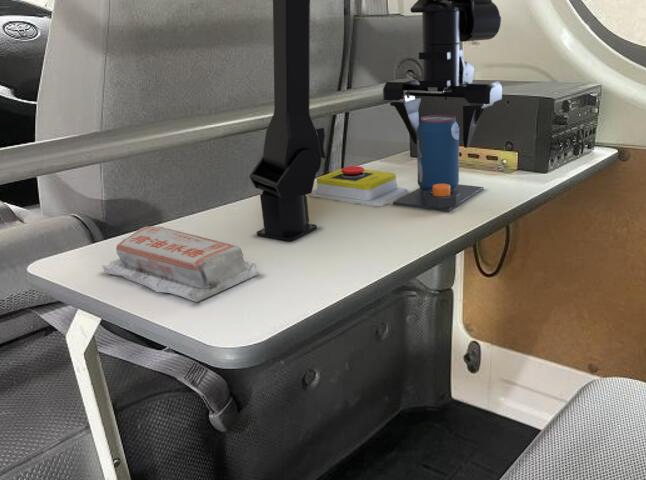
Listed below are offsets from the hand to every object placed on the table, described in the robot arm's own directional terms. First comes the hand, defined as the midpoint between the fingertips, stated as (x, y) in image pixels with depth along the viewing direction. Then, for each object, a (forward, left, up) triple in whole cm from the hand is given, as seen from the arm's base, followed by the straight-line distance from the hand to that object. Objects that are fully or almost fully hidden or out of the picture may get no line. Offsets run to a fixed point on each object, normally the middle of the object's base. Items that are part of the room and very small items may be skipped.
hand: (441, 145), depth 104 cm
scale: (-3, -1, -8) cm, 9 cm away
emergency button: (-6, +13, -8) cm, 16 cm away
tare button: (-7, -3, -6) cm, 10 cm away
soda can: (0, 0, -8) cm, 8 cm away
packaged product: (-46, +13, -8) cm, 49 cm away
